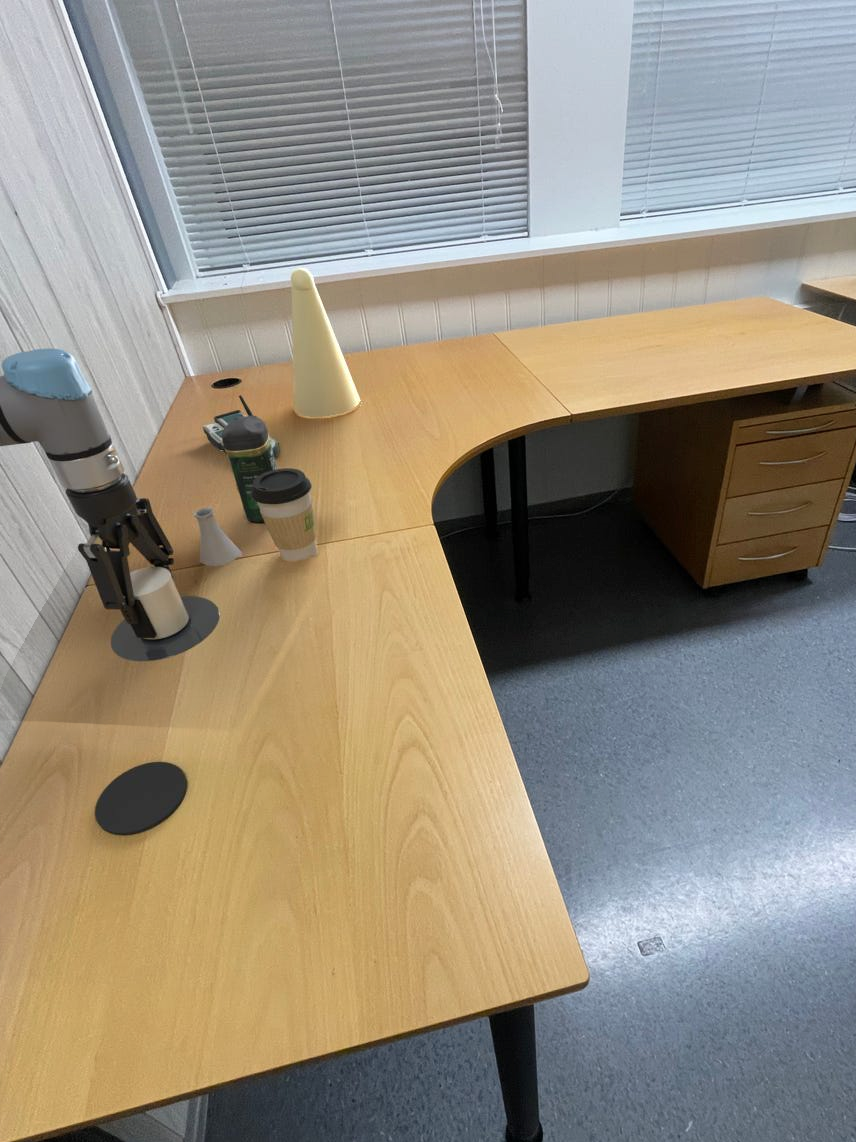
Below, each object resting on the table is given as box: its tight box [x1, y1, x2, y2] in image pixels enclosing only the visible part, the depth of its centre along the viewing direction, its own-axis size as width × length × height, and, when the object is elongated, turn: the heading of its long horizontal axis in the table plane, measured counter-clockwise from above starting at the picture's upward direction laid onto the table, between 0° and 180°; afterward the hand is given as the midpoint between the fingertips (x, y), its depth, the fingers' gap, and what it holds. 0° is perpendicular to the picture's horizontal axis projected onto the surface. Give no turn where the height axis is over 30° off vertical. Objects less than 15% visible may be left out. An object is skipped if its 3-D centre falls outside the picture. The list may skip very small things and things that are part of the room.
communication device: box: [202, 394, 280, 459], centre depth 148 cm, size 12×24×9 cm, turn 39°
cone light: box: [290, 267, 361, 417], centre depth 157 cm, size 25×18×35 cm
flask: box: [193, 507, 244, 567], centre depth 109 cm, size 7×7×10 cm
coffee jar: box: [222, 415, 278, 524], centre depth 119 cm, size 10×8×19 cm
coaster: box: [94, 761, 188, 836], centre depth 73 cm, size 10×10×1 cm
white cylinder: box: [123, 566, 189, 639], centre depth 93 cm, size 8×8×8 cm
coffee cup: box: [251, 467, 318, 562], centre depth 107 cm, size 10×10×15 cm
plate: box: [110, 595, 221, 662], centre depth 97 cm, size 16×16×1 cm
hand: (160, 618), depth 95 cm, fingers closed on white cylinder, 8 cm apart
